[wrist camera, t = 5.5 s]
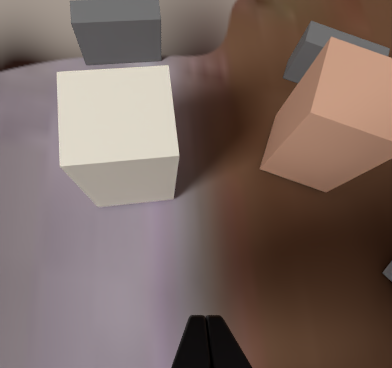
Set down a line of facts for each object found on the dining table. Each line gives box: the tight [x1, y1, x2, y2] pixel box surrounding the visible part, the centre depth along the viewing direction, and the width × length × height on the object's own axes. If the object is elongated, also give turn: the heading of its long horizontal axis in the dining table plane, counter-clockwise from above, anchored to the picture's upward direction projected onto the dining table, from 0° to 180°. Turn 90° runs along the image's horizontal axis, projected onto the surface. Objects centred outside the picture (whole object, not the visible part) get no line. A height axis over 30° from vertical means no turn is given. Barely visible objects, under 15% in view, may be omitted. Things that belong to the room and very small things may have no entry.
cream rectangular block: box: [57, 65, 179, 207], centre depth 18 cm, size 4×4×8 cm
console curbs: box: [70, 0, 390, 83], centre depth 22 cm, size 32×6×4 cm, turn 71°
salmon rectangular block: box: [260, 37, 392, 192], centre depth 19 cm, size 4×4×8 cm
